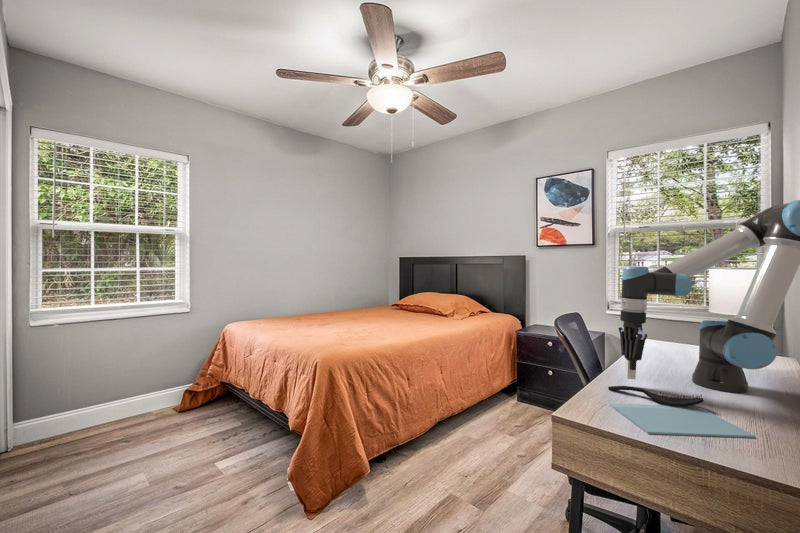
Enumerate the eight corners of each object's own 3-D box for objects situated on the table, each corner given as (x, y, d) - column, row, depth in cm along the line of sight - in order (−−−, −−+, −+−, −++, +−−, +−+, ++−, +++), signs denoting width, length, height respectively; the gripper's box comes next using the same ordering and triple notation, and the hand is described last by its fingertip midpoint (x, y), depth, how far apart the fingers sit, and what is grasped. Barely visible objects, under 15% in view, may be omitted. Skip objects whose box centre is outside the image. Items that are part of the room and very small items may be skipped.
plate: (694, 407, 112) (694, 404, 112) (755, 439, 92) (755, 435, 92) (606, 404, 113) (606, 401, 113) (647, 435, 93) (647, 431, 93)
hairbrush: (611, 378, 129) (704, 393, 112) (611, 389, 129) (705, 405, 112) (604, 382, 123) (702, 398, 106) (605, 394, 123) (702, 411, 106)
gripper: (612, 307, 136) (609, 372, 136) (633, 313, 123) (630, 384, 123) (633, 308, 135) (630, 373, 136) (656, 313, 122) (653, 385, 123)
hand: (630, 378), depth 130 cm, fingers closed
